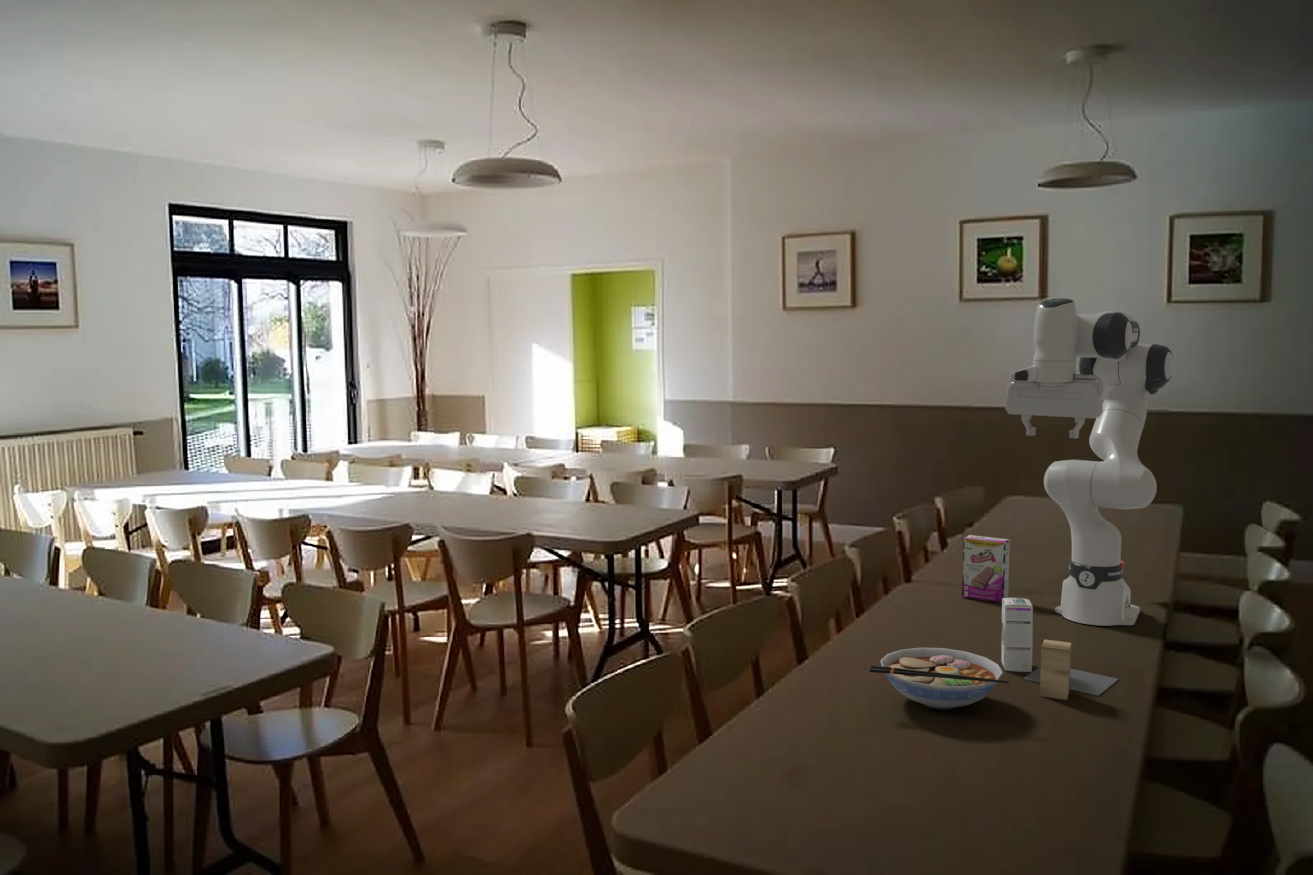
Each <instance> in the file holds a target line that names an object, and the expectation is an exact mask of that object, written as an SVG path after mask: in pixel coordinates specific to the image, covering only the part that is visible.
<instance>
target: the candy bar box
mask: <svg viewBox="0 0 1313 875" xmlns="http://www.w3.org/2000/svg"><path fill="white" fill-rule="evenodd" d="M962 547H963V549H962V580H961V584H962V586H961V598H962V599H963V598H964V599H970V600H978V601H979V600H980V601H985V602H993V603H1000V604H1002V598H1009V578H1010V552H1011V549H1010V548H1011V539H1009V538H1000V537H991V536H983V535H975V534H974V535H973V534H968V535H966V536H965V537H963V546H962Z"/></svg>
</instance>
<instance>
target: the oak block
mask: <svg viewBox="0 0 1313 875" xmlns="http://www.w3.org/2000/svg"><path fill="white" fill-rule="evenodd" d="M1071 655H1072V642H1068V641H1060V640H1053V639H1051V640H1050V639H1045V638H1044V639H1043V642H1042V644H1041V649H1040V667H1041V674H1040V683H1039V696H1040V697H1045V698H1053V699H1058V700H1064V701H1065V700H1066V701H1067V700H1068V699H1069V695H1070V691H1071V690H1070V669H1071V660H1072V658H1071Z"/></svg>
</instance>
